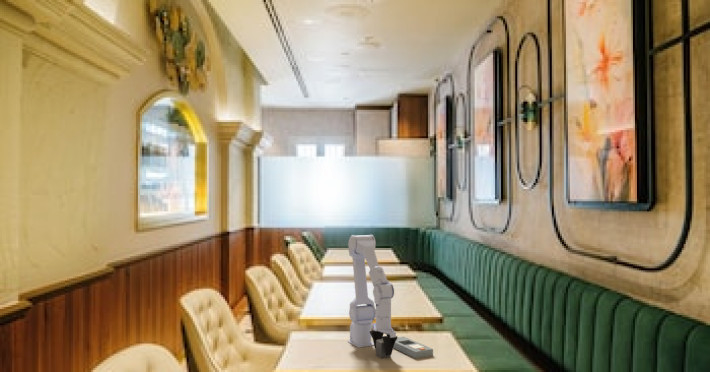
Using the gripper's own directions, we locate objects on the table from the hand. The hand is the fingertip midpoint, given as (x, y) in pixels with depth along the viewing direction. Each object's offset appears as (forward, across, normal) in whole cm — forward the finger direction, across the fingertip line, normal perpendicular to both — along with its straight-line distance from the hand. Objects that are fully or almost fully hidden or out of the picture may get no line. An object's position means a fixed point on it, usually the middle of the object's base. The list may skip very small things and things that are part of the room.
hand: (383, 352), depth 198 cm
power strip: (+1, -2, +13) cm, 13 cm away
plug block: (+2, 0, 0) cm, 2 cm away
